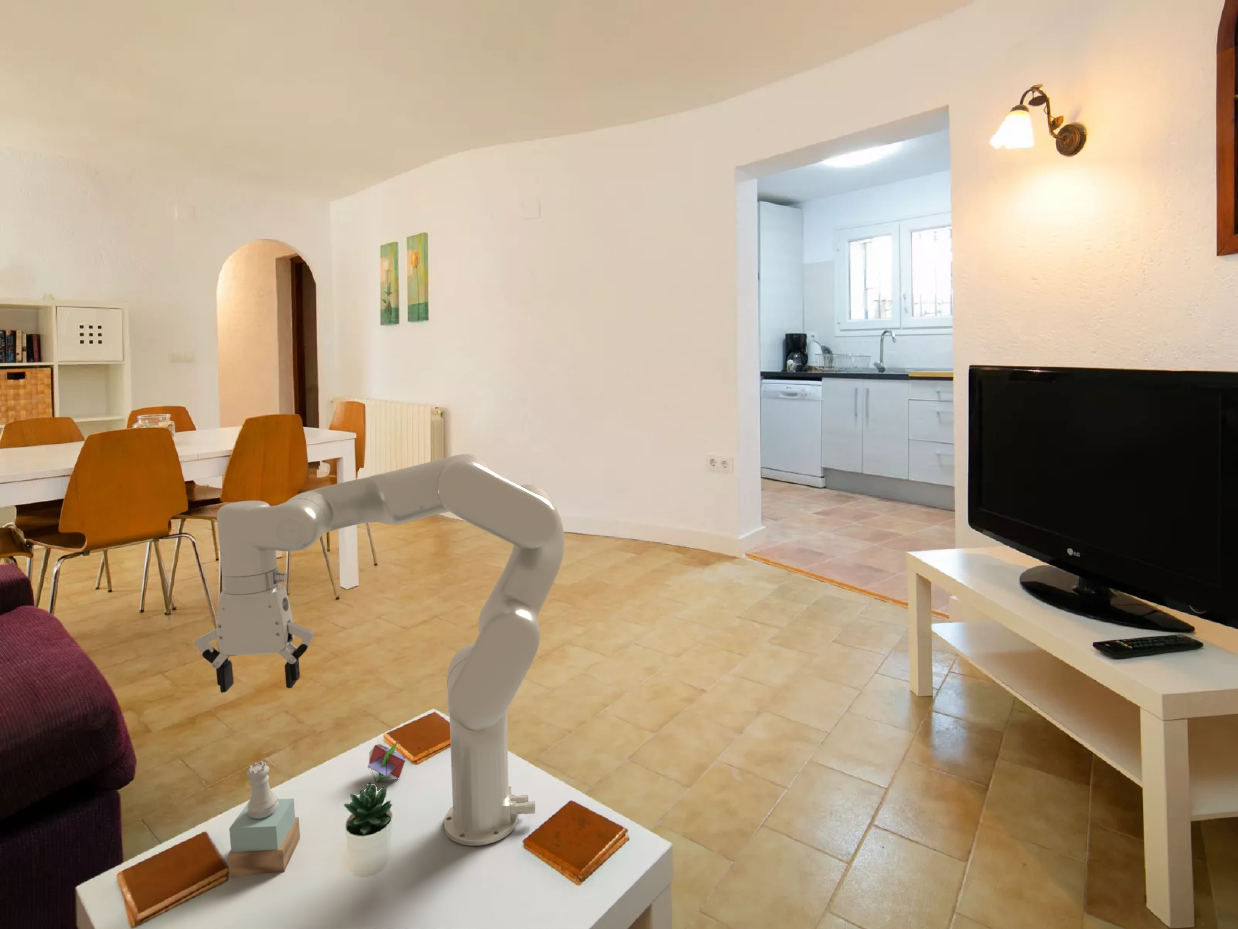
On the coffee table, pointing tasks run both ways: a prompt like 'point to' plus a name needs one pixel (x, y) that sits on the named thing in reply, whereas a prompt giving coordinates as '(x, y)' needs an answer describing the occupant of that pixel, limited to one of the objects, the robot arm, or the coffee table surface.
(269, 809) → the rook chess piece
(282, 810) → the tower top
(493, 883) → the coffee table surface
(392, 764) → the geometric puzzle
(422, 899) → the coffee table surface
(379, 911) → the coffee table surface
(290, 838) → the tower base
